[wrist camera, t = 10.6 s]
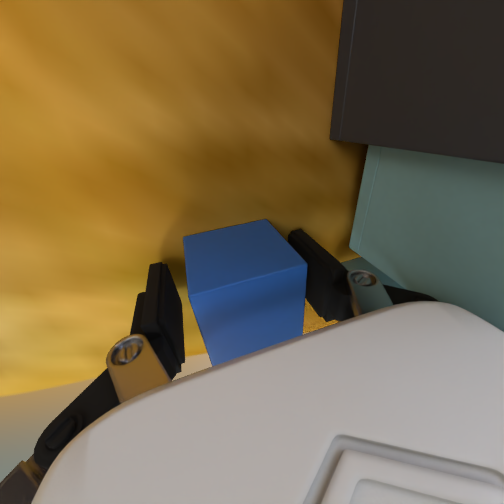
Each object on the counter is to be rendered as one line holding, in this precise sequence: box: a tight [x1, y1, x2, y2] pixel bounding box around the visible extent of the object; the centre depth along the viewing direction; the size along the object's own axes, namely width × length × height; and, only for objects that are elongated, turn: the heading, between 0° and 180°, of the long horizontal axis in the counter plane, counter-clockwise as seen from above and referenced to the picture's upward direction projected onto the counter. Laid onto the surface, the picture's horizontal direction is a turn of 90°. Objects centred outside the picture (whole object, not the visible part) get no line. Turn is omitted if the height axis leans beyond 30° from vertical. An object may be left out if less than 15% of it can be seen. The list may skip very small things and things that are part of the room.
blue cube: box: [183, 219, 308, 366], centre depth 11 cm, size 4×4×4 cm
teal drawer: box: [341, 145, 504, 332], centre depth 10 cm, size 19×11×8 cm, turn 5°
